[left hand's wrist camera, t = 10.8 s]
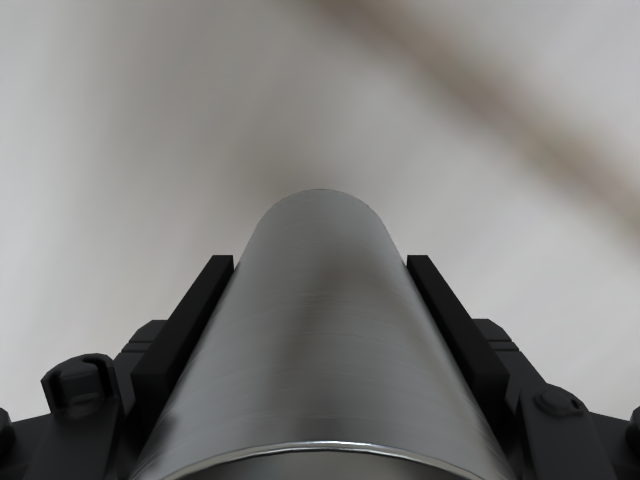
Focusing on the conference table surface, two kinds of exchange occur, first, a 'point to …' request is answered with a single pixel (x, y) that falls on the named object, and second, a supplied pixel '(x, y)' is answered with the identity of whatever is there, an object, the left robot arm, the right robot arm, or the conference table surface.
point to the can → (321, 366)
